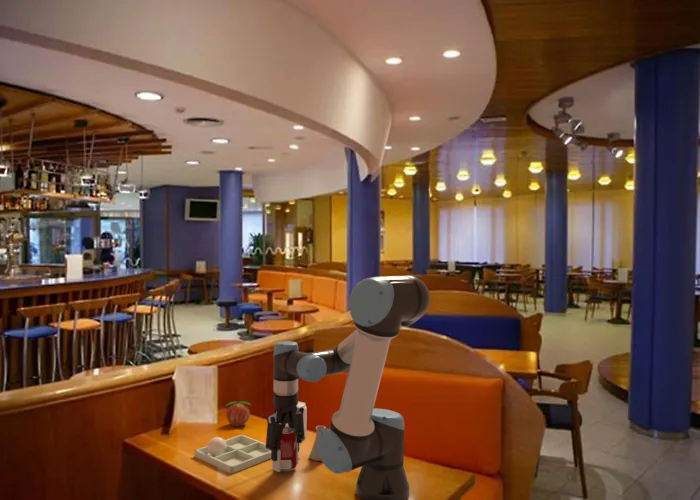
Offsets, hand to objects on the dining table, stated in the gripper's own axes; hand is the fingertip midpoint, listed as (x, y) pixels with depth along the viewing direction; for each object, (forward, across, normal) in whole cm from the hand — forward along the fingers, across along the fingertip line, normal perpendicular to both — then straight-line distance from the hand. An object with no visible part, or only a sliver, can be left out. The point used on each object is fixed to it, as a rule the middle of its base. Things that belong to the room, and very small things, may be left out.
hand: (285, 466), depth 170 cm
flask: (+2, -15, 0) cm, 15 cm away
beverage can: (+1, -22, -18) cm, 29 cm away
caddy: (+1, +4, -18) cm, 19 cm away
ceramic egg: (0, +8, -23) cm, 25 cm away
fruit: (+1, -16, -44) cm, 46 cm away
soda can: (+1, 0, 0) cm, 1 cm away
